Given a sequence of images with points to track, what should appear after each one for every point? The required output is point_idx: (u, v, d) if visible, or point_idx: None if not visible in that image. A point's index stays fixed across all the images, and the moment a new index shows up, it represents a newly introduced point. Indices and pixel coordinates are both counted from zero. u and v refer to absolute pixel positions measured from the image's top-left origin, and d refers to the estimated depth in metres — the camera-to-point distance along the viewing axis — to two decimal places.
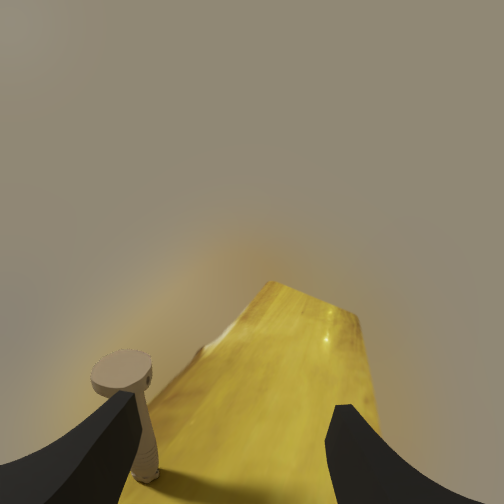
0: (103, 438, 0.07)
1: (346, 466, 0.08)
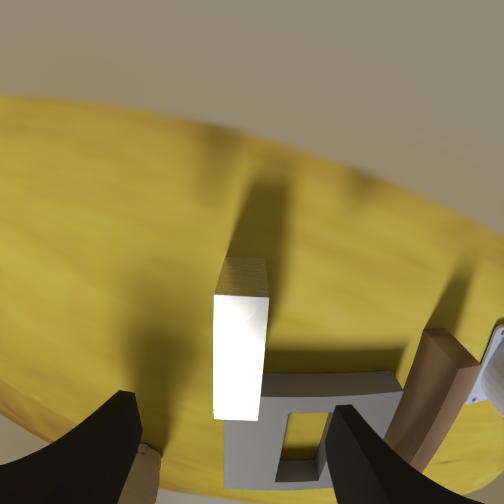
0: (103, 438, 0.07)
1: (346, 466, 0.08)
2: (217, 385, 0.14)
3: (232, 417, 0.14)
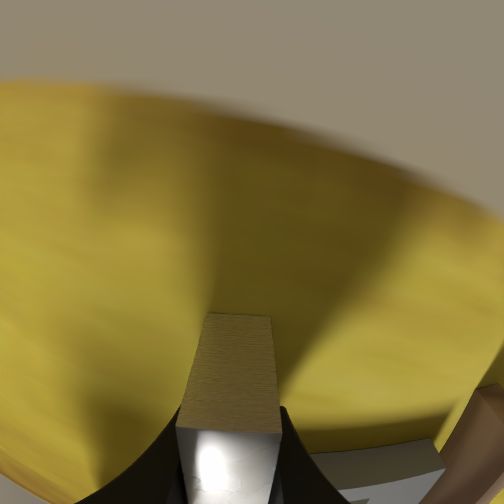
0: None
1: None
2: None
3: None
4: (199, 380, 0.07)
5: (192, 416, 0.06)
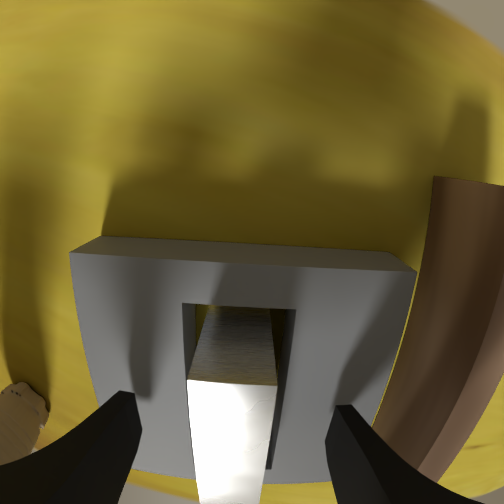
0: (103, 438, 0.07)
1: (346, 466, 0.08)
2: (201, 480, 0.08)
3: None
4: (206, 345, 0.09)
5: (201, 372, 0.08)
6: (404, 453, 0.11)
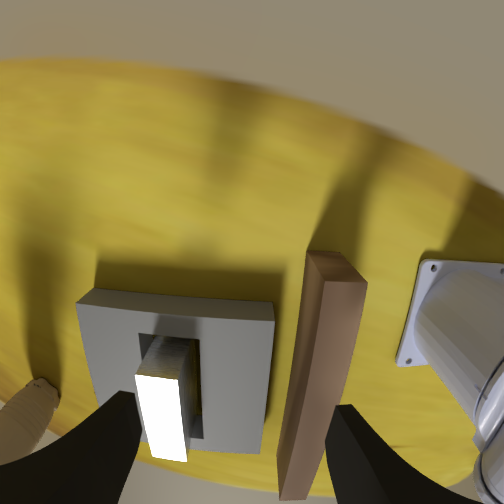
0: (103, 438, 0.07)
1: (346, 466, 0.08)
2: (150, 434, 0.16)
3: (166, 457, 0.16)
4: (149, 357, 0.16)
5: (142, 371, 0.15)
6: (290, 437, 0.18)
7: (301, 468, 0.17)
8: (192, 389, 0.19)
